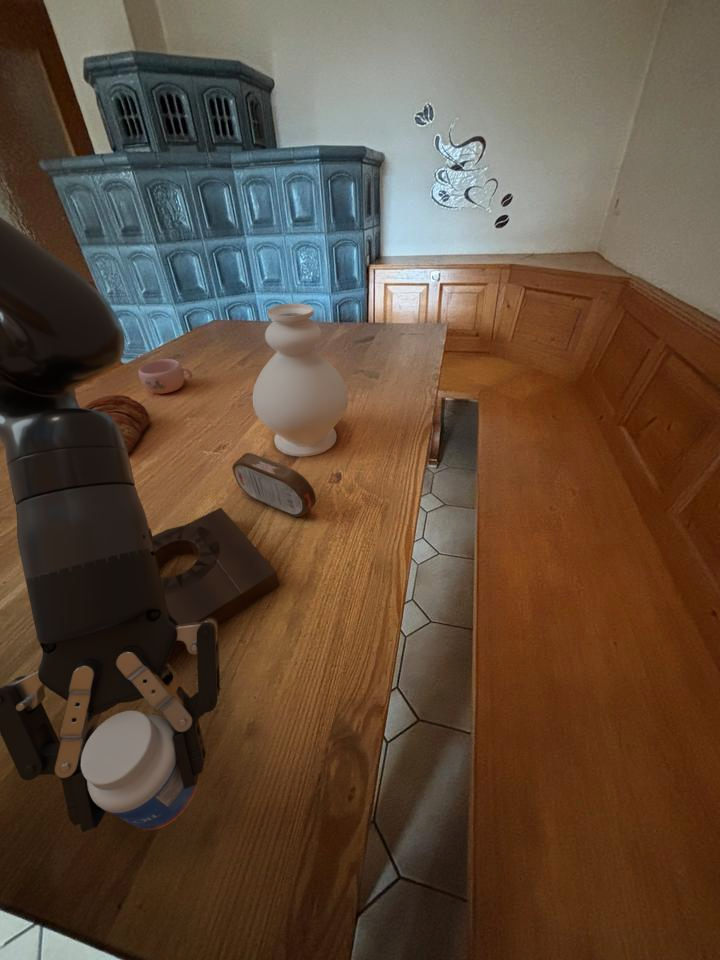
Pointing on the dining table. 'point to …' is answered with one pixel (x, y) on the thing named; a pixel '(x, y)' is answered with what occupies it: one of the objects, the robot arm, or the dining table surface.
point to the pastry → (123, 416)
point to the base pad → (212, 570)
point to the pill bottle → (136, 770)
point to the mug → (163, 375)
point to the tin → (274, 484)
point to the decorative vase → (298, 385)
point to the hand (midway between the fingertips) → (146, 798)
